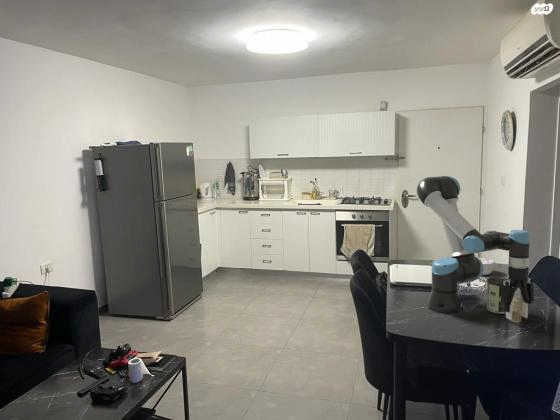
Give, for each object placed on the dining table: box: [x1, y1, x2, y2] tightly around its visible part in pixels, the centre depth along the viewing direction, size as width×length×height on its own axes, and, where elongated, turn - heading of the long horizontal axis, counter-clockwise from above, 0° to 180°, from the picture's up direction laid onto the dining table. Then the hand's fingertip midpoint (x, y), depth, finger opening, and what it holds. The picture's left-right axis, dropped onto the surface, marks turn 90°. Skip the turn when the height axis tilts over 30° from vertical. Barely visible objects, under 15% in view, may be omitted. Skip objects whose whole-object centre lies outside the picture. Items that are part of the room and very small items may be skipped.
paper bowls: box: [478, 257, 496, 276], centre depth 251 cm, size 15×15×8 cm
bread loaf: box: [510, 296, 523, 324], centre depth 178 cm, size 4×4×10 cm
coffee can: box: [486, 277, 510, 315], centre depth 191 cm, size 10×10×14 cm
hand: (516, 317), depth 178 cm, fingers open, 7 cm apart
